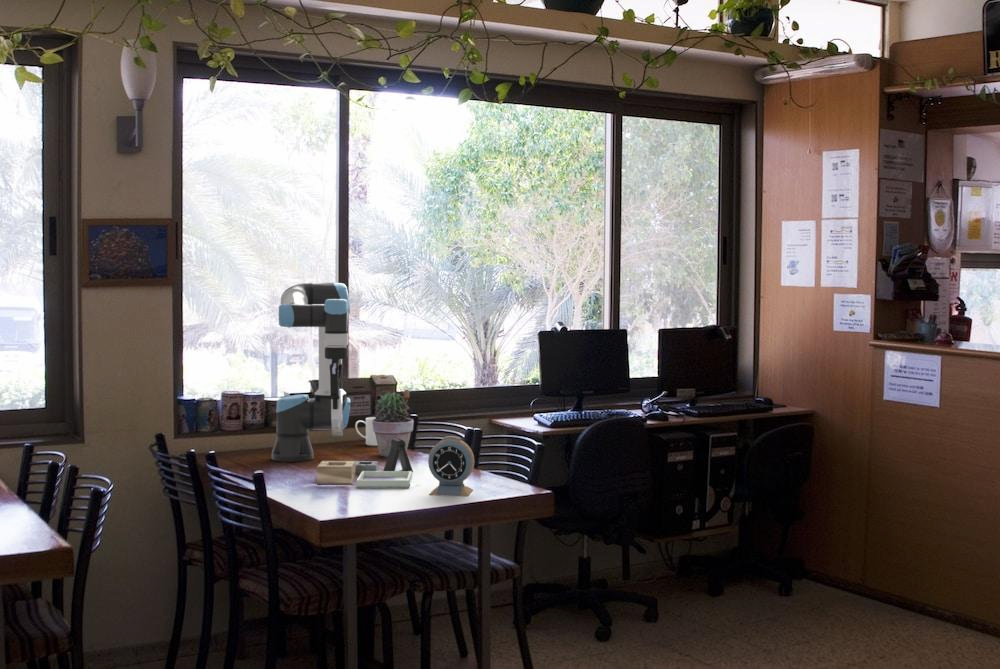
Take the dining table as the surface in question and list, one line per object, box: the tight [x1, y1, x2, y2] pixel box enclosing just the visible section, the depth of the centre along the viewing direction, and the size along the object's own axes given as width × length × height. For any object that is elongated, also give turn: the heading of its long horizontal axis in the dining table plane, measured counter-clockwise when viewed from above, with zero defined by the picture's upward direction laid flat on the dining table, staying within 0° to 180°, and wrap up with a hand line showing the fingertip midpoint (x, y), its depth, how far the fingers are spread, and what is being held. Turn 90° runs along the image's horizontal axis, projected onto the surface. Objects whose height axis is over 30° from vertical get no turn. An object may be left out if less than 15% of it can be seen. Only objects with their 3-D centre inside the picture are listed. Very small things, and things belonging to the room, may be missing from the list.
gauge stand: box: [354, 460, 379, 476], centre depth 373 cm, size 8×8×4 cm
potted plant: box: [370, 389, 415, 458], centre depth 415 cm, size 18×20×25 cm
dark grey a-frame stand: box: [382, 438, 414, 473], centre depth 375 cm, size 9×6×12 cm, turn 115°
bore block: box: [316, 460, 356, 486], centre depth 360 cm, size 11×11×6 cm
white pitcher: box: [354, 416, 378, 447], centre depth 440 cm, size 12×8×10 cm, turn 110°
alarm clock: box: [427, 435, 475, 497], centre depth 344 cm, size 14×10×18 cm
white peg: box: [331, 388, 344, 437], centre depth 359 cm, size 4×4×15 cm
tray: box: [356, 470, 413, 489], centre depth 359 cm, size 17×17×2 cm
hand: (336, 418), depth 359 cm, fingers closed on white peg, 3 cm apart
